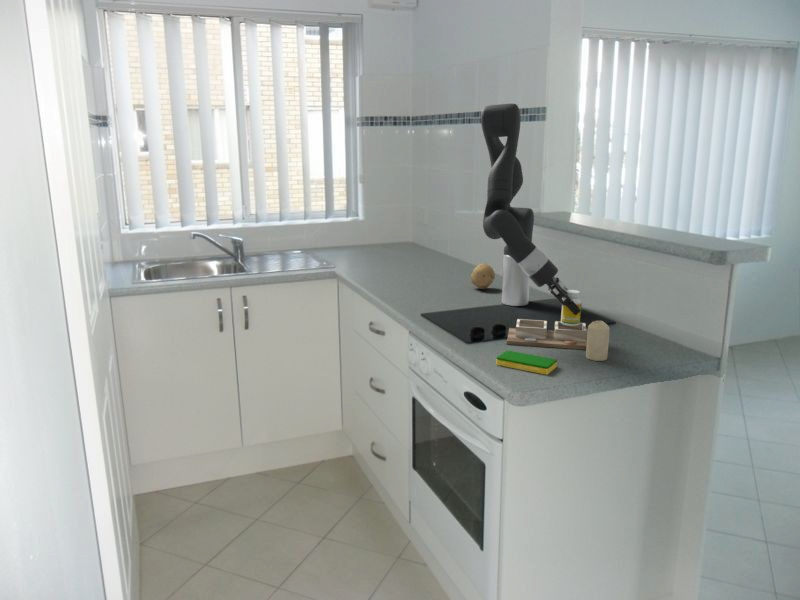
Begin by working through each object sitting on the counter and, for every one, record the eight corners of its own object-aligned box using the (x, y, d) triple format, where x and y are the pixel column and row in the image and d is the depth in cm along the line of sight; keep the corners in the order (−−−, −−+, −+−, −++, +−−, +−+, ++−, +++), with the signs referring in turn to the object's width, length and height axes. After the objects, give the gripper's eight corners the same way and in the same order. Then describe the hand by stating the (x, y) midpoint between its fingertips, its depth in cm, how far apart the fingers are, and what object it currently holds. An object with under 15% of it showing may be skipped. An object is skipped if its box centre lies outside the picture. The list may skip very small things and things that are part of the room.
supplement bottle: (558, 321, 194) (560, 289, 191) (576, 321, 194) (578, 289, 192) (563, 326, 188) (566, 293, 186) (582, 326, 189) (585, 293, 186)
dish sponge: (506, 358, 178) (506, 349, 177) (556, 368, 170) (557, 359, 170) (495, 366, 172) (496, 357, 171) (547, 376, 165) (547, 367, 164)
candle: (606, 362, 173) (609, 325, 171) (584, 359, 175) (587, 323, 173) (608, 355, 178) (611, 320, 176) (586, 353, 180) (589, 318, 178)
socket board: (509, 331, 200) (509, 318, 199) (591, 336, 195) (592, 323, 194) (506, 344, 188) (507, 330, 187) (594, 350, 183) (595, 336, 182)
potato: (496, 292, 248) (497, 266, 246) (472, 292, 248) (473, 266, 246) (491, 286, 257) (492, 261, 255) (469, 287, 257) (469, 261, 254)
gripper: (547, 262, 181) (589, 308, 182) (547, 253, 195) (586, 296, 195) (526, 280, 184) (568, 325, 184) (528, 270, 197) (567, 312, 198)
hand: (577, 310), depth 190 cm, fingers closed on supplement bottle, 5 cm apart
